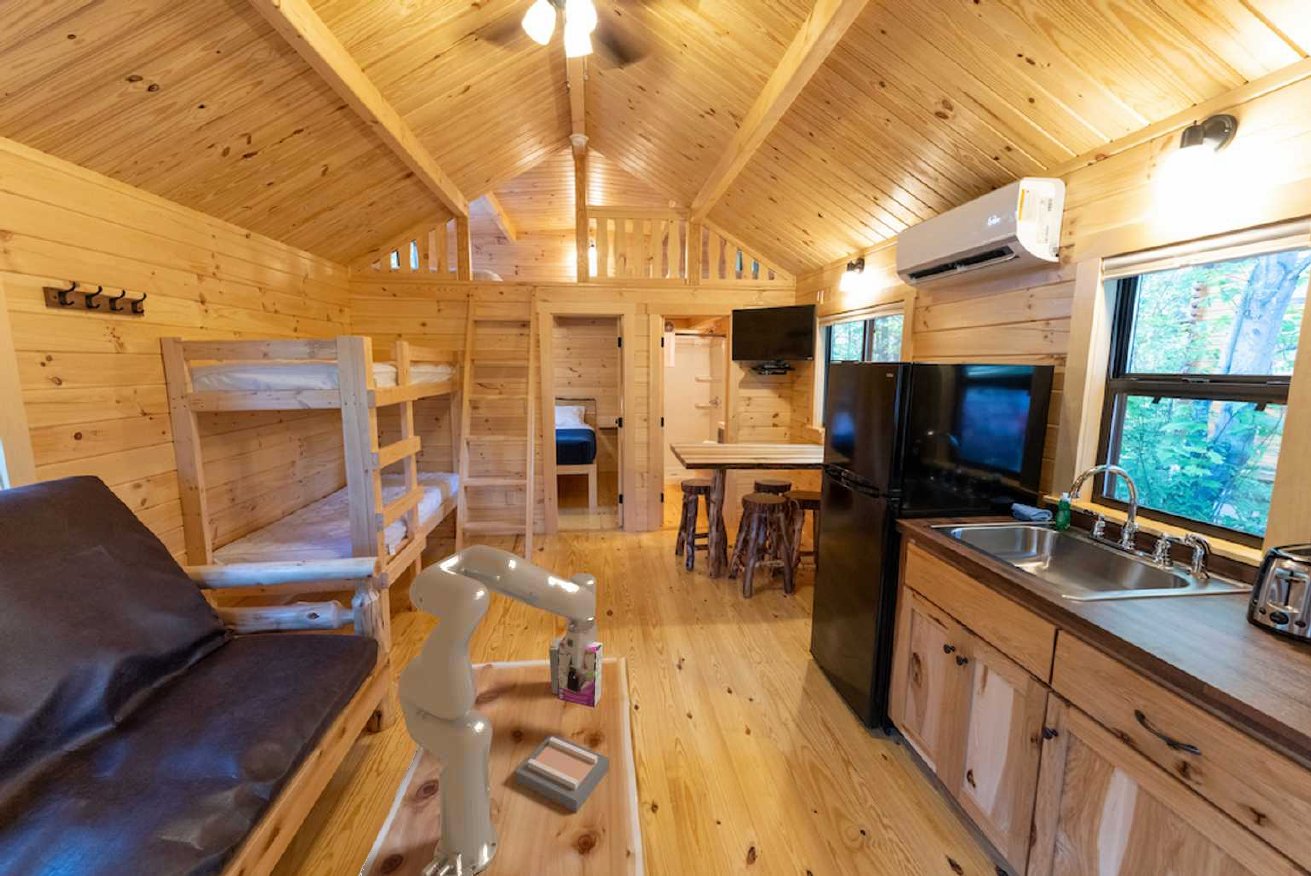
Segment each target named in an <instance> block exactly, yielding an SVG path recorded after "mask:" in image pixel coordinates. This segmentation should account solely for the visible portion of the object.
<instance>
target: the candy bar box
mask: <svg viewBox="0 0 1311 876" xmlns="http://www.w3.org/2000/svg"><path fill="white" fill-rule="evenodd" d="M565 637H566V635H565V636H564V637H563V638H564V639H563V640H562V641H561V642H560V643H559V648H558V694H557V700H560V701H564V702H569V703H573V704H577V705H582V706H586V707H590V708H596V706H597V704H598V703H599V701H600V699H601V698H602V676H603V675H602V673H603V672H602V671H603V670H602V669H603V648H604V647H603V646H604V645H603V644H604V643H603V642H599V641H598V642H594V643H592V644H591V645H590V646H588V647H587V648H586V649H585V666H583V667H582V668H581V669H579V670H578V674H577V677H579V684H578V691H577V692H575V691H572V690H570V689H568V688H567V678H568V676H566V675H565V674H564V673H562V672H561V671H562V668H563V666H564V646H565ZM571 664H572V663H571ZM574 670H575V668H571V671H572V672H574Z"/></svg>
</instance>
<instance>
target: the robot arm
mask: <svg viewBox="0 0 1311 876" xmlns="http://www.w3.org/2000/svg"><path fill="white" fill-rule="evenodd" d="M489 591H492V592H494V593H497V594H499V595H502V596H505V597H507V598H509V599H512V600H515V601H516V602H519V603H521V604H524V605H527V606H530V607H533V608H537V609H540V610H543V611H546V612H548V613H550V614H553V615H556V616H560V617H563V618H566V632H565V636H566V637H565V636H564V638H565V646H564V666H563V668H562V671H561V672H562V673H564V674H565V675H566V676H568V678H567V688H568V689H570V690H572V691H575V692H577V691H578V684H579V677H577V674H578V670H579V669H581V668H582V667H583V666H585V649H586V648H587V647H588V646H590V645H591V644H592V643H594V642H599V635H598V634H599V633H598V626H597V621H596V608H597V599H596V598H597V579H596V577H595V576H594V575H593V574H590V573H584V572H583V573H582V572H581V573H580V572H579V573H575V574H573V575H571V576H570V577H569V578H563V577H561V576H560V575H557V574H555V573H553V572H551V571H548V570H546V569H545V568H542V567H540V566H538V565H536V564H533V563H532V562H530V561H528V560H526V559H525V558H523V557H520V556H519V555H517V554H515V553H513V552H510V551H507V550H503V549H500V548H495V547H492V546H488V545H484V544H474V545H471V546H469V547H466V548H463V549H461V550H459V551H456V552H455V553H453V554H450V555H448V556H447V557H444V558H442V559H441V560H439V561H437V562H435V563H433V564H431V565H429V566H427V567H425V568H424V569H422V570H421V571H420V572H419V573H418V574H417V575H416V576H415V578H414V579H413V580H412V582H411V584H410V586H409V591H408V592H409V593H408V594H409V595H408V597H409V600H410V602H411V604H412V605H413V606H414V608H416V609H418V610H419V611H421V612H424V613H426V614H429V615H432V616H435V617H437V618H440V619H439V620H438V623H436V625H435V626H434V628H433V629H432V631H431V632H430V633H429V635H428V636H427V637H426V639H425V640H424V642H423V644H422V646H421V648H420V654H419V655H417V656H415V657H413V658H412V659H410V661H409V662H408V663H407V664H406V665H405V666H404V667H403V670H402V672H401V674H400V676H399V679H398V684H397V694H398V700H399V704H400V707H401V712H402V715H403V718H404V719H403V720H404V722H405V726H406V729H407V733H408V735H409V737H410V738H411V740H412V741H413V742H414V743H415V744H417V745H419V746H420V747H422V748H423V749H425V750H427V751H429V752H431V753H432V754H433V755H435V756H437V757H439V758H440V759H441V760H443V763H444V764H445V766H444V767H443V768H442V770H441V772H440V774H439V778H438V799H439V802H438V803H439V805H438V806H439V820H440V823H439V825H440V838H439V840H438V841H437V843H436V846H435V848H434V851H433V859H432V860H431V861H430V862H429V863H427V865H426V866H425V867H424V868H423V869H422V870H421V872H420V876H433V875H434V874H435V876H471V875H473V874H476V873H477V872H479V871H481V870H482V871H483V870H485V868H487V867H488V866H489V865H490V863H491V862H492V861H493V859H494V857H495V855H496V854H497V851H498V848H499V833H498V831H497V828H496V827H495V825H493V823H491V819H490V818H491V817H490V816H491V815H490V814H491V813H490V810H491V809H490V783H489V781H490V776H489V774H490V773H489V759H490V751H491V746H492V741H493V733H494V731H493V726H492V723H491V721H490V719H488V717H487V716H486V715H485V714H484V713H482V712H481V711H479V710H476V709H475V708H474V705H475V703H476V700H477V685H476V678H475V674H474V669H473V663H472V660H471V655H470V643H471V642H470V641H471V640H472V638H473V635H474V633H475V632H476V630H477V628H478V626H479V625H480V623H481V622H482V620H483V618H484V617H485V615H486V613H487V612H488V609H489V605H490V601H491V600H490V598H491V597H490V592H489ZM571 663H572V664H571ZM571 668H575V670H574V672H572V671H571ZM486 866H487V867H486ZM436 870H437V871H438V872H437V871H436ZM482 871H481V872H482ZM435 872H436V873H435ZM479 873H480V872H479ZM476 875H477V874H476Z"/></svg>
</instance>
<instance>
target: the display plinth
mask: <svg viewBox="0 0 1311 876" xmlns="http://www.w3.org/2000/svg"><path fill="white" fill-rule="evenodd" d="M609 769H610V758H609V757H607V756H605V755H603V754H600V753H598V752H596V751H593V750H591V749H589V748H586V747H584V746H582V745H580V744H577V743H575V742H572V741H570V740H568V739H566V738H563V737H561V736H559V735H557V734H554V733H553V732H552V733H550V734H549V735H548V736H547V737H546V738H545V739H544V741H542V742H541V744H539V746H538V747H537V748H536V749H534V751H532V753H531V754H530V755H528V757H527V758H525V760H524V761H523V762H522V763H521V764H520V765H519V766H518V767H517V768H516V769H515V771H514V779H515V780H514V782H515V783H517V784H519V785H521V786H523V787H525V788H527V789H528V790H530V791H532V792H534V793H537V794H539V795H541V796H543V797H545V798H547V799H549V800H550V801H553V802H554V803H556V804H558V805H561V806H563V807H564V808H567V809H568V810H571V811H572V812H575V813H578V812H579V810H580V809H581V808H582V806H583V805H584V803H585V802H586V801H587V799H588V798H589V796H590V795H591V794H592V793H593V792H594V790H595V788H596V787H597V786H598V785H599V783H600V782H601V781H602V779H603V778H604V776H605V775H606V773H607V772H608V771H609Z"/></svg>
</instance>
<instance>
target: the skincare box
mask: <svg viewBox="0 0 1311 876" xmlns="http://www.w3.org/2000/svg"><path fill="white" fill-rule="evenodd" d="M564 638H565V637H558V636H557V637H555V638H554V639H553V641H552V643H551V645H550V647H549V648H548V651H549V665H550V666H549V667H550V684H551V686H550V687H551V694H552V695H553V694H554V695H558V648H559V643H560V642H561V641H562V640H563V639H564Z"/></svg>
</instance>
